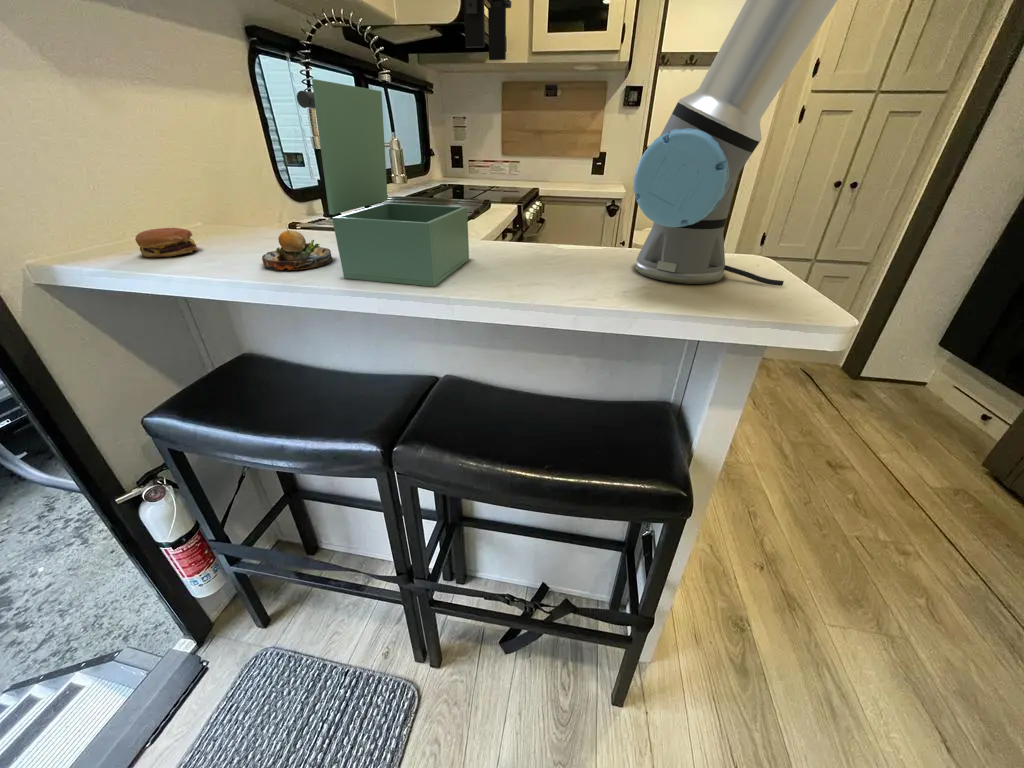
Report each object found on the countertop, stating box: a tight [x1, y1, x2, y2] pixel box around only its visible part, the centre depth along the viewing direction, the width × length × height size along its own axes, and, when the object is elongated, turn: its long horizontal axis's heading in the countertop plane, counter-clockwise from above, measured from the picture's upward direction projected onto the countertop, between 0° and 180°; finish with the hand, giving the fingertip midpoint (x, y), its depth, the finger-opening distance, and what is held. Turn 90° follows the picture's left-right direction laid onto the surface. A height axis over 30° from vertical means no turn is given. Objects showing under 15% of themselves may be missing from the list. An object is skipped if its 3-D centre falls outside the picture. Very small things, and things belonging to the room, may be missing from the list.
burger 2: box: [261, 224, 334, 271], centre depth 77 cm, size 12×12×8 cm
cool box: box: [331, 202, 470, 287], centre depth 74 cm, size 17×18×10 cm
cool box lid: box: [296, 78, 389, 216], centre depth 69 cm, size 17×18×8 cm
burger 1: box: [134, 227, 199, 258], centre depth 82 cm, size 10×9×5 cm
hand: (487, 54), depth 63 cm, fingers open, 11 cm apart
